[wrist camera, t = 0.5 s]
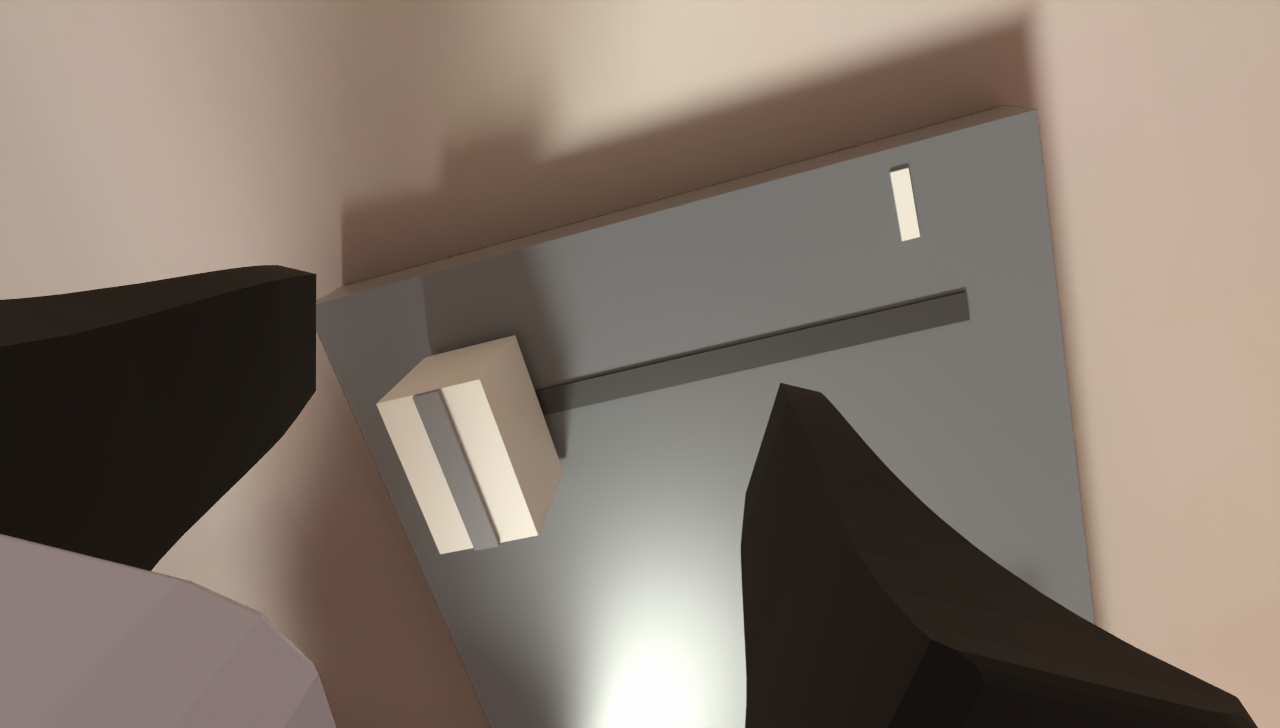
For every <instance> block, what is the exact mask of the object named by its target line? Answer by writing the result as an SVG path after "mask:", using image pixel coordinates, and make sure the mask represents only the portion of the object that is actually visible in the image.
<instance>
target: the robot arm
mask: <svg viewBox="0 0 1280 728" xmlns="http://www.w3.org/2000/svg"><path fill="white" fill-rule="evenodd" d="M315 391H316V274H313V273H308V272H304V271H300V270H296V269H291V268H287V267H283V266H278V265H264V266H251V267H241V268H234V269H226V270H220V271H213V272H207V273H200V274H194V275H188V276H182V277H176V278H170V279H164V280H158V281H152V282H146V283H139V284H132V285H125V286H118V287H111V288H104V289H97V290H89V291H82V292H75V293H68V294H60V295H51V296H42V297H31V298H21V299H8V300H0V728H336V725H335V722H334V719H333V716H332V713H331V710H330V707H329V704H328V701H327V698H326V695H325V692H324V689H323V686H322V683H321V680H320V677H319V674H318V672H317V670H316V668H315V666H314V664H313V663H312V662H311V661H310V660H309V659H308V658H307V657H306V656H305V655H304V654H303V653H302V652H301V651H300V650H299V649H298V648H297V647H296V646H295V645H294V644H293V643H292V642H291V641H290V640H289V639H288V638H287V637H286V636H285V635H284V634H283V633H282V632H281V631H280V630H279V629H278V628H277V627H276V626H275V625H274V624H273V623H272V622H271V621H270V620H269V619H268V618H267V617H266V616H265V615H264V614H263V613H261V612H259V611H256V610H254V609H252V608H250V607H247V606H245V605H243V604H241V603H239V602H236V601H234V600H232V599H230V598H227V597H225V596H223V595H221V594H219V593H216V592H214V591H212V590H210V589H207V588H205V587H203V586H201V585H199V584H196V583H194V582H192V581H188V580H184V579H180V578H176V577H172V576H168V575H164V574H160V573H156V572H152V571H151V570H152V569H153V568H154V566H155V565H156V564H157V563H158V562H159V560H160V559H161V558H162V557H163V556H164V555H165V554H166V553H167V552H168V551H169V550H170V548H171V547H172V546H173V545H174V544H175V543H176V542H177V541H178V540H179V539H180V538H181V537H182V536H183V535H184V534H185V533H186V532H187V531H188V530H189V529H190V528H191V527H192V526H193V525H194V524H195V523H196V522H197V521H198V520H199V519H200V518H201V517H202V516H203V515H204V514H205V513H206V512H207V511H208V510H209V509H210V508H211V507H212V506H213V505H214V504H215V503H216V502H217V501H218V500H219V499H220V498H221V497H222V496H223V495H224V494H225V493H227V492H228V491H229V490H230V489H231V488H232V487H233V486H234V485H235V484H236V483H237V482H238V481H239V480H240V479H241V478H242V477H243V476H244V475H245V474H246V473H247V472H248V471H249V470H250V469H251V468H252V467H253V466H254V465H255V464H256V463H257V462H258V461H259V460H260V459H261V458H262V457H263V456H264V455H265V454H266V453H267V452H268V451H269V450H270V449H271V448H272V447H273V446H274V445H275V444H276V443H277V442H278V441H279V440H280V439H281V437H282V436H283V435H284V434H285V432H286V431H287V430H288V428H289V427H290V426H291V425H292V423H293V422H294V421H295V419H296V418H297V417H298V415H299V414H300V412H301V411H302V410H303V408H304V407H305V405H306V404H307V402H308V401H309V400H310V398H311V397H312V395H313V394H314V392H315ZM741 574H742V596H743V616H744V637H745V657H746V719H745V728H1258V727H1257V726H1256V724H1255V723H1254V721H1253V720H1252V718H1251V717H1250V715H1249V714H1248V712H1247V711H1246V709H1245V708H1244V706H1243V705H1242V704H1241V702H1240V701H1239V699H1238V698H1237V697H1236V696H1234V695H1232V694H1230V693H1227V692H1225V691H1223V690H1221V689H1219V688H1217V687H1215V686H1213V685H1211V684H1209V683H1207V682H1205V681H1203V680H1201V679H1199V678H1197V677H1195V676H1193V675H1191V674H1189V673H1187V672H1185V671H1182V670H1180V669H1178V668H1176V667H1174V666H1172V665H1170V664H1168V663H1166V662H1164V661H1162V660H1160V659H1158V658H1156V657H1154V656H1152V655H1150V654H1148V653H1146V652H1144V651H1142V650H1140V649H1138V648H1136V647H1134V646H1132V645H1130V644H1128V643H1126V642H1124V641H1122V640H1121V639H1119V638H1117V637H1115V636H1114V635H1112V634H1110V633H1108V632H1107V631H1105V630H1103V629H1101V628H1100V627H1098V626H1096V625H1094V624H1093V623H1091V622H1089V621H1087V620H1086V619H1084V618H1082V617H1080V616H1079V615H1077V614H1075V613H1073V612H1072V611H1070V610H1068V609H1067V608H1065V607H1064V606H1062V605H1060V604H1059V603H1057V602H1055V601H1054V600H1052V599H1051V598H1049V597H1047V596H1046V595H1044V594H1043V593H1041V592H1039V591H1038V590H1036V589H1035V588H1033V587H1032V586H1031V585H1029V584H1028V583H1026V582H1025V581H1023V580H1022V579H1020V578H1019V577H1017V576H1016V575H1014V574H1013V573H1011V572H1010V571H1009V570H1007V569H1006V568H1004V567H1003V566H1001V565H1000V564H998V563H997V562H996V561H994V560H993V559H991V558H990V557H989V556H987V555H986V554H985V553H983V552H982V551H981V550H979V549H978V548H977V547H975V546H974V545H973V544H972V543H970V542H969V541H968V540H967V539H965V538H964V537H963V536H962V535H961V534H959V533H958V532H957V531H956V530H954V529H953V528H952V527H951V526H950V525H948V524H947V523H946V522H945V521H943V520H942V519H941V518H940V517H939V516H938V515H937V514H935V513H934V512H933V511H932V510H931V509H930V508H929V507H928V506H926V505H925V504H924V503H923V502H922V501H921V500H920V499H919V498H918V497H917V496H916V495H915V494H914V493H913V492H912V491H911V490H910V489H909V488H908V487H907V486H906V485H905V484H904V483H903V482H902V481H901V480H900V479H899V478H898V477H897V476H896V475H895V474H894V473H893V472H892V471H891V470H890V469H889V468H888V467H887V466H886V465H885V464H884V463H883V461H882V460H881V459H880V458H879V457H878V456H877V455H876V454H875V453H874V452H873V450H872V449H871V448H870V447H869V446H868V445H867V444H866V443H865V441H864V440H863V439H862V438H861V437H860V436H859V434H858V433H857V432H856V431H855V430H854V429H853V427H852V426H851V425H850V424H849V423H848V422H847V420H846V419H845V418H844V417H843V416H842V415H841V413H840V412H839V411H838V410H837V409H836V408H835V406H834V405H833V404H832V403H831V402H830V401H829V400H828V399H827V398H826V397H825V396H824V395H823V394H822V393H821V392H818V391H814V390H809V389H805V388H801V387H796V386H792V385H788V384H784V383H780V385H779V389H778V392H777V395H776V398H775V401H774V405H773V408H772V411H771V414H770V417H769V421H768V424H767V427H766V430H765V433H764V436H763V440H762V443H761V446H760V449H759V452H758V456H757V459H756V462H755V465H754V468H753V471H752V475H751V478H750V481H749V484H748V487H747V491H746V495H745V505H744V514H743V524H742V536H741Z"/></svg>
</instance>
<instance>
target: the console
mask: <svg viewBox="0 0 1280 728" xmlns="http://www.w3.org/2000/svg"><path fill="white" fill-rule="evenodd" d="M316 331H317V333H318V335H319V338H320V340H321V342H322V344H323V347H324V349H325V351H326V354H327V356H328V358H329V360H330V363H331V365H332V367H333V369H334V372H335V374H336V376H337V379H338V381H339V383H340V385H341V388H342V390H343V392H344V395H345V397H346V399H347V401H348V404H349V406H350V408H351V411H352V413H353V415H354V417H355V420H356V422H357V424H358V426H359V429H360V431H361V433H362V436H363V438H364V440H365V442H366V445H367V447H368V449H369V452H370V454H371V456H372V458H373V461H374V463H375V465H376V468H377V470H378V472H379V474H380V477H381V479H382V481H383V484H384V486H385V488H386V490H387V493H388V495H389V497H390V499H391V502H392V504H393V506H394V509H395V511H396V513H397V515H398V518H399V520H400V522H401V525H402V527H403V529H404V531H405V534H406V536H407V538H408V541H409V543H410V545H411V547H412V550H413V552H414V554H415V557H416V559H417V561H418V563H419V566H420V568H421V570H422V572H423V575H424V577H425V579H426V582H427V584H428V586H429V588H430V591H431V593H432V595H433V598H434V600H435V602H436V604H437V607H438V609H439V611H440V614H441V616H442V618H443V620H444V623H445V625H446V627H447V629H448V632H449V634H450V636H451V639H452V641H453V643H454V645H455V648H456V650H457V652H458V655H459V657H460V659H461V661H462V664H463V666H464V668H465V671H466V673H467V675H468V677H469V680H470V682H471V684H472V687H473V689H474V691H475V693H476V696H477V698H478V700H479V702H480V705H481V707H482V709H483V712H484V714H485V716H486V718H487V721H488V723H489V725H490V728H745V719H746V657H745V637H744V616H743V596H742V574H741V536H742V524H743V514H744V505H745V495H746V491H747V487H748V484H749V481H750V478H751V475H752V471H753V468H754V465H755V462H756V459H757V456H758V452H759V449H760V446H761V443H762V440H763V436H764V433H765V430H766V427H767V424H768V421H769V417H770V414H771V411H772V408H773V405H774V401H775V398H776V395H777V392H778V389H779V385H780V383H784V384H788V385H792V386H796V387H801V388H805V389H809V390H814V391H818V392H821V393H822V394H823V395H824V396H825V397H826V398H827V399H828V400H829V401H830V402H831V403H832V404H833V405H834V406H835V408H836V409H837V410H838V411H839V412H840V413H841V415H842V416H843V417H844V418H845V419H846V420H847V422H848V423H849V424H850V425H851V426H852V427H853V429H854V430H855V431H856V432H857V433H858V434H859V436H860V437H861V438H862V439H863V440H864V441H865V443H866V444H867V445H868V446H869V447H870V448H871V449H872V450H873V452H874V453H875V454H876V455H877V456H878V457H879V458H880V459H881V460H882V461H883V463H884V464H885V465H886V466H887V467H888V468H889V469H890V470H891V471H892V472H893V473H894V474H895V475H896V476H897V477H898V478H899V479H900V480H901V481H902V482H903V483H904V484H905V485H906V486H907V487H908V488H909V489H910V490H911V491H912V492H913V493H914V494H915V495H916V496H917V497H918V498H919V499H920V500H921V501H922V502H923V503H924V504H925V505H926V506H928V507H929V508H930V509H931V510H932V511H933V512H934V513H935V514H937V515H938V516H939V517H940V518H941V519H942V520H943V521H945V522H946V523H947V524H948V525H950V526H951V527H952V528H953V529H954V530H956V531H957V532H958V533H959V534H961V535H962V536H963V537H964V538H965V539H967V540H968V541H969V542H970V543H972V544H973V545H974V546H975V547H977V548H978V549H979V550H981V551H982V552H983V553H985V554H986V555H987V556H989V557H990V558H991V559H993V560H994V561H996V562H997V563H998V564H1000V565H1001V566H1003V567H1004V568H1006V569H1007V570H1009V571H1010V572H1011V573H1013V574H1014V575H1016V576H1017V577H1019V578H1020V579H1022V580H1023V581H1025V582H1026V583H1028V584H1029V585H1031V586H1032V587H1033V588H1035V589H1036V590H1038V591H1039V592H1041V593H1043V594H1044V595H1046V596H1047V597H1049V598H1051V599H1052V600H1054V601H1055V602H1057V603H1059V604H1060V605H1062V606H1064V607H1065V608H1067V609H1068V610H1070V611H1072V612H1073V613H1075V614H1077V615H1079V616H1080V617H1082V618H1084V619H1086V620H1087V621H1089V622H1091V623H1093V624H1094V625H1095V623H1094V614H1093V605H1092V596H1091V587H1090V578H1089V569H1088V560H1087V552H1086V543H1085V534H1084V525H1083V516H1082V507H1081V498H1080V489H1079V480H1078V471H1077V463H1076V454H1075V445H1074V436H1073V427H1072V418H1071V409H1070V400H1069V391H1068V383H1067V374H1066V365H1065V356H1064V347H1063V338H1062V329H1061V320H1060V311H1059V303H1058V294H1057V285H1056V276H1055V267H1054V258H1053V249H1052V240H1051V231H1050V222H1049V214H1048V205H1047V196H1046V187H1045V178H1044V169H1043V160H1042V151H1041V142H1040V134H1039V125H1038V116H1037V109H1031V108H1023V107H1015V106H1007V105H1005V106H1002V107H998V108H994V109H991V110H987V111H983V112H980V113H976V114H972V115H969V116H965V117H961V118H958V119H954V120H950V121H947V122H943V123H939V124H936V125H932V126H928V127H925V128H921V129H917V130H914V131H910V132H906V133H903V134H899V135H895V136H892V137H888V138H884V139H881V140H877V141H873V142H870V143H866V144H862V145H859V146H855V147H851V148H848V149H844V150H840V151H837V152H833V153H829V154H826V155H822V156H819V157H815V158H811V159H808V160H804V161H800V162H797V163H793V164H789V165H786V166H782V167H778V168H775V169H771V170H767V171H764V172H760V173H756V174H753V175H749V176H745V177H742V178H738V179H734V180H731V181H727V182H723V183H720V184H716V185H712V186H709V187H705V188H701V189H698V190H694V191H690V192H687V193H683V194H679V195H676V196H672V197H668V198H665V199H661V200H657V201H654V202H650V203H646V204H643V205H639V206H636V207H632V208H628V209H625V210H621V211H617V212H614V213H610V214H606V215H603V216H599V217H595V218H592V219H588V220H584V221H581V222H577V223H573V224H570V225H566V226H562V227H559V228H555V229H551V230H548V231H544V232H540V233H537V234H533V235H529V236H526V237H522V238H518V239H515V240H511V241H507V242H504V243H500V244H496V245H493V246H489V247H485V248H482V249H478V250H474V251H471V252H467V253H464V254H460V255H456V256H453V257H449V258H445V259H442V260H438V261H434V262H431V263H427V264H423V265H420V266H416V267H412V268H409V269H405V270H401V271H398V272H394V273H390V274H387V275H383V276H379V277H376V278H372V279H368V280H365V281H361V282H357V283H354V284H350V285H346V286H343V287H340V288H339V289H337V290H335V291H333V292H331V293H330V294H328V295H326V296H324V297H323V298H321V299H319V300H317V301H316ZM513 335H515V336H516V339H517V342H518V345H519V347H520V350H521V353H522V356H523V359H524V362H525V364H526V367H527V370H528V373H529V376H530V379H531V382H532V384H533V387H534V390H535V393H536V396H537V399H538V401H539V404H540V407H541V410H542V413H543V416H544V418H545V421H546V424H547V427H548V430H549V433H550V435H551V438H552V441H553V444H554V447H555V450H556V453H557V455H558V458H559V461H560V464H561V467H562V470H563V472H564V473H563V476H562V478H561V481H560V483H559V486H558V488H557V491H556V493H555V495H554V498H553V500H552V503H551V505H550V508H549V510H548V513H547V515H546V518H545V520H544V522H543V525H542V527H541V530H540V532H539V535H538V536H533V537H528V538H522V539H517V540H512V541H507V542H502V543H500V545H499V546H498V547H493V548H488V549H483V550H477V551H475V550H474V548H471V549H465V550H460V551H455V552H450V553H445V554H440V553H439V550H438V548H437V546H436V543H435V541H434V539H433V536H432V534H431V532H430V529H429V527H428V524H427V522H426V520H425V517H424V515H423V513H422V510H421V508H420V506H419V503H418V501H417V499H416V496H415V494H414V492H413V489H412V487H411V485H410V482H409V480H408V478H407V475H406V473H405V470H404V468H403V466H402V463H401V461H400V459H399V456H398V454H397V452H396V449H395V447H394V445H393V442H392V440H391V438H390V435H389V433H388V431H387V428H386V426H385V424H384V421H383V419H382V416H381V414H380V412H379V409H378V407H377V405H376V404H377V403H378V402H379V401H380V400H381V399H382V398H383V397H384V396H385V395H386V394H387V393H388V392H389V391H390V390H391V389H392V388H393V387H395V386H396V385H397V384H398V383H399V382H400V381H401V380H402V379H403V378H404V377H405V376H406V375H407V374H408V373H409V372H410V371H411V370H412V369H413V368H415V367H416V366H417V365H418V364H419V363H420V362H421V361H422V360H423V359H424V358H425V357H429V356H433V355H437V354H441V353H445V352H449V351H453V350H457V349H461V348H465V347H469V346H473V345H477V344H481V343H485V342H489V341H493V340H497V339H501V338H505V337H509V336H513Z"/></svg>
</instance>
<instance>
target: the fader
mask: <svg viewBox="0 0 1280 728" xmlns="http://www.w3.org/2000/svg"><path fill="white" fill-rule="evenodd" d="M376 405H377V407H378V409H379V412H380V414H381V416H382V419H383V421H384V424H385V426H386V428H387V431H388V433H389V435H390V438H391V440H392V442H393V445H394V447H395V449H396V452H397V454H398V456H399V459H400V461H401V463H402V466H403V468H404V470H405V473H406V475H407V478H408V480H409V482H410V485H411V487H412V489H413V492H414V494H415V496H416V499H417V501H418V503H419V506H420V508H421V510H422V513H423V515H424V517H425V520H426V522H427V524H428V527H429V529H430V532H431V534H432V536H433V539H434V541H435V543H436V546H437V548H438V550H439V553H440V554H445V553H450V552H455V551H460V550H465V549H471V548H474V550H475V551H477V550H483V549H488V548H493V547H498V546H499V545H500V543H502V542H507V541H512V540H517V539H522V538H528V537H533V536H538V535H539V532H540V530H541V527H542V525H543V522H544V520H545V518H546V515H547V513H548V510H549V508H550V505H551V503H552V500H553V498H554V495H555V493H556V491H557V488H558V486H559V483H560V481H561V478H562V476H563V473H564V472H563V470H562V467H561V464H560V461H559V458H558V455H557V453H556V450H555V447H554V444H553V441H552V438H551V435H550V433H549V430H548V427H547V424H546V421H545V418H544V416H543V413H542V410H541V407H540V404H539V401H538V399H537V396H536V393H535V390H534V387H533V384H532V382H531V379H530V376H529V373H528V370H527V367H526V364H525V362H524V359H523V356H522V353H521V350H520V347H519V345H518V342H517V339H516V336H515V335H513V336H509V337H505V338H501V339H497V340H493V341H489V342H485V343H481V344H477V345H473V346H469V347H465V348H461V349H457V350H453V351H449V352H445V353H441V354H437V355H433V356H429V357H425V358H424V359H423V360H422V361H421V362H420V363H419V364H418V365H417V366H416V367H415V368H413V369H412V370H411V371H410V372H409V373H408V374H407V375H406V376H405V377H404V378H403V379H402V380H401V381H400V382H399V383H398V384H397V385H396V386H395V387H393V388H392V389H391V390H390V391H389V392H388V393H387V394H386V395H385V396H384V397H383V398H382V399H381V400H380V401H379V402H378V403H377V404H376Z"/></svg>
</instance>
